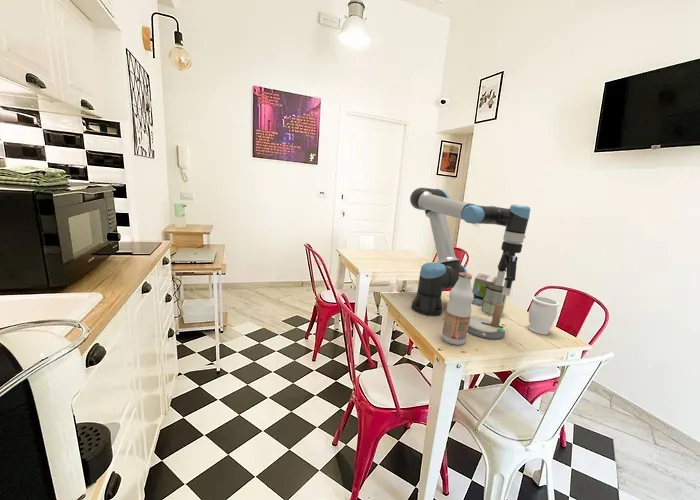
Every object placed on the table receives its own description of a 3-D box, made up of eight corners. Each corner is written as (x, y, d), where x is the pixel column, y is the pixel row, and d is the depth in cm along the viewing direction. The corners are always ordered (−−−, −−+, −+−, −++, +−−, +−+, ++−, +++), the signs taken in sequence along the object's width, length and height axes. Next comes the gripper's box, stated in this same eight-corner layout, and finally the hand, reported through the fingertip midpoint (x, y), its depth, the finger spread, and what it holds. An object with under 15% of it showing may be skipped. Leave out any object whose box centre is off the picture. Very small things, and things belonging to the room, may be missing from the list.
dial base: (459, 333, 131) (459, 330, 131) (455, 315, 150) (456, 313, 150) (509, 343, 127) (510, 340, 126) (499, 324, 146) (500, 321, 145)
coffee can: (478, 307, 165) (483, 282, 162) (498, 310, 164) (503, 285, 161) (484, 315, 155) (490, 288, 152) (505, 318, 154) (511, 291, 151)
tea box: (488, 308, 165) (494, 282, 162) (469, 303, 170) (474, 277, 167) (492, 300, 178) (497, 276, 175) (473, 296, 183) (478, 272, 180)
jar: (520, 326, 146) (527, 296, 143) (535, 324, 150) (542, 295, 146) (540, 337, 136) (548, 305, 133) (556, 335, 140) (564, 304, 137)
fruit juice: (438, 340, 123) (450, 273, 117) (444, 331, 131) (455, 269, 126) (463, 348, 119) (476, 279, 113) (466, 338, 127) (479, 274, 121)
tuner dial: (465, 328, 133) (470, 304, 131) (463, 316, 147) (467, 294, 144) (505, 337, 129) (511, 312, 127) (499, 323, 142) (504, 301, 140)
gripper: (531, 249, 116) (519, 301, 121) (514, 239, 140) (504, 283, 144) (510, 245, 118) (498, 297, 122) (497, 236, 141) (487, 280, 146)
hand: (501, 289), depth 133 cm, fingers open, 13 cm apart
